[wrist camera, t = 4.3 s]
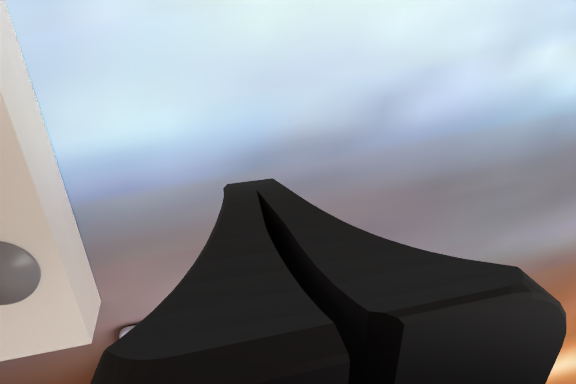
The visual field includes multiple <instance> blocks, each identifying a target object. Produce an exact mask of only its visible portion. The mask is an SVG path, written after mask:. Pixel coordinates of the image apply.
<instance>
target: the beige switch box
mask: <svg viewBox="0 0 576 384" xmlns="http://www.w3.org/2000/svg"><path fill="white" fill-rule="evenodd" d="M100 304H101V300H100V297H99V293H98V290H97V287H96V284H95V281H94V278H93V275H92V271H91V268H90V265H89V262H88V259H87V256H86V253H85V249H84V246H83V243H82V240H81V237H80V234H79V231H78V227H77V224H76V221H75V218H74V215H73V212H72V209H71V205H70V202H69V199H68V196H67V193H66V190H65V187H64V183H63V180H62V177H61V174H60V171H59V168H58V165H57V161H56V158H55V155H54V152H53V149H52V146H51V143H50V139H49V136H48V133H47V130H46V127H45V124H44V121H43V117H42V114H41V111H40V108H39V105H38V102H37V99H36V95H35V92H34V89H33V86H32V83H31V80H30V77H29V73H28V70H27V67H26V64H25V61H24V58H23V55H22V52H21V48H20V45H19V42H18V39H17V36H16V33H15V30H14V26H13V23H12V20H11V17H10V14H9V11H8V8H7V4H6V1H5V0H0V361H5V360H10V359H15V358H20V357H25V356H31V355H36V354H41V353H46V352H51V351H56V350H61V349H66V348H72V347H77V346H82V345H87V344H91V343H92V339H93V334H94V330H95V326H96V321H97V317H98V312H99V308H100Z"/></svg>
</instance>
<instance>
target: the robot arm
mask: <svg viewBox="0 0 576 384" xmlns="http://www.w3.org/2000/svg"><path fill="white" fill-rule="evenodd" d="M565 335H566V313H565V311H564V309H563V307H562V305H561V304H560V302H559V301H558V300H556V299H555V298H554V297H553V296H552V295H550V294H549V293H548V292H547V291H546V290H545V289H543V288H542V287H541V286H540V285H539V284H537V283H536V282H535V281H534V280H533V279H531V278H530V277H529V276H528V275H527V274H525V273H524V272H523V271H522V270H521V269H520V268H518V267H515V266H508V265H501V264H494V263H488V262H481V261H474V260H467V259H462V258H456V257H452V256H447V255H443V254H438V253H434V252H429V251H425V250H421V249H418V248H414V247H410V246H407V245H404V244H400V243H397V242H394V241H391V240H388V239H385V238H382V237H379V236H376V235H374V234H371V233H369V232H366V231H364V230H361V229H359V228H357V227H354V226H352V225H350V224H348V223H345V222H343V221H341V220H339V219H337V218H335V217H334V216H332V215H330V214H328V213H326V212H324V211H322V210H321V209H319V208H317V207H316V206H314V205H312V204H311V203H309V202H307V201H306V200H304V199H303V198H301V197H300V196H298V195H297V194H295V193H294V192H292V191H291V190H289V189H288V188H286V187H285V186H283V185H282V184H280V183H279V182H277V181H276V180H274V179H265V180H257V181H249V182H241V183H233V184H227V185H226V186H225V187H224V199H223V203H222V207H221V210H220V213H219V216H218V219H217V222H216V224H215V226H214V229H213V231H212V233H211V235H210V237H209V239H208V241H207V243H206V245H205V247H204V248H203V250H202V252H201V253H200V255H199V257H198V258H197V260H196V261H195V263H194V264H193V266H192V267H191V268H190V270H189V271H188V272H187V274H186V275H185V276H184V278H183V279H182V280H181V281H180V283H179V284H178V285H177V286H176V287H175V289H174V290H173V291H172V292H171V293H170V294H169V295H168V296H167V297H166V298H165V299H164V300H163V301H162V302H161V303H160V304H159V305H158V306H157V307H156V308H155V309H154V310H153V311H152V312H151V313H150V314H149V315H148V316H147V317H146V318H144V319H143V320H142V321H141V322H140V323H138V324H137V325H135V326H130V327H126V328H123V329H122V330H121V331H120V334H119V339H118V340H117V341H116V342H115V343H113V344H112V345H111V346H109V347H108V348H107V349H105V351H104V352H103V354H102V356H101V359H100V361H99V363H98V366H97V368H96V371H95V373H94V376H93V378H92V381H91V383H90V384H545V383H546V381H547V379H548V376H549V374H550V372H551V370H552V368H553V365H554V363H555V361H556V359H557V356H558V354H559V352H560V350H561V348H562V345H563V341H564V338H565Z"/></svg>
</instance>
